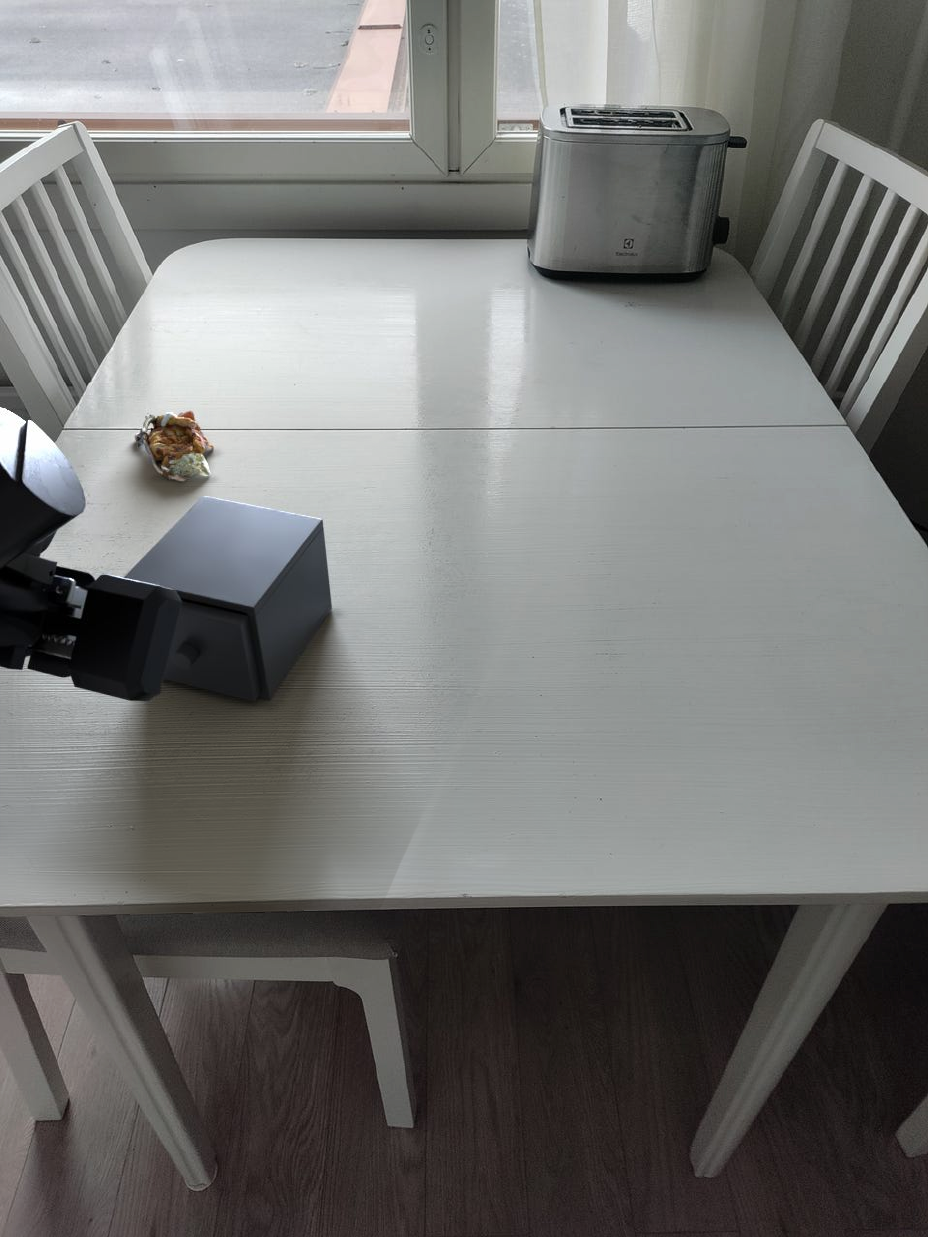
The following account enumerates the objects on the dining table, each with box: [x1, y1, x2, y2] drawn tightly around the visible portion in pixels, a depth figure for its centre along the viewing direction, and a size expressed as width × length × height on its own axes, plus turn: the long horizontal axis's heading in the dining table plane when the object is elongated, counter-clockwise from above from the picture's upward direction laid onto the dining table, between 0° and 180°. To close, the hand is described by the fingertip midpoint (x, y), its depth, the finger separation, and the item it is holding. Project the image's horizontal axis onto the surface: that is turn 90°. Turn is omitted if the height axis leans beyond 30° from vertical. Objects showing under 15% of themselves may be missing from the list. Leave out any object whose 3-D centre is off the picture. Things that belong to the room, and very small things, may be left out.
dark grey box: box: [122, 495, 333, 701], centre depth 77 cm, size 12×11×9 cm
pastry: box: [134, 410, 215, 482], centre depth 102 cm, size 7×12×4 cm, turn 32°
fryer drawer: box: [163, 598, 261, 702], centre depth 76 cm, size 12×10×8 cm
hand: (100, 626), depth 61 cm, fingers closed
